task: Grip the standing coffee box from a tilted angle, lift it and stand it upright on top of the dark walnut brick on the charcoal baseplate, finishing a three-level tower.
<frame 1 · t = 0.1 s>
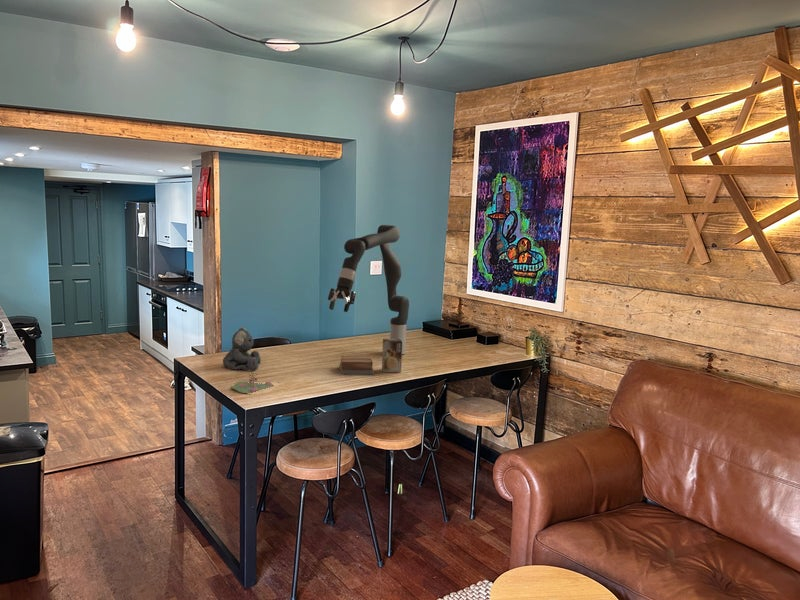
hand: (338, 310, 290), 31 cm above the table, tool tilted 20°, fingers open, 8 cm apart
plant: (260, 388, 267), on the table
baseplate: (356, 370, 301), on the table
coffee box: (391, 371, 305), on the table
walnut brick: (356, 366, 301), resting on baseplate
koala plush: (241, 367, 298), on the table
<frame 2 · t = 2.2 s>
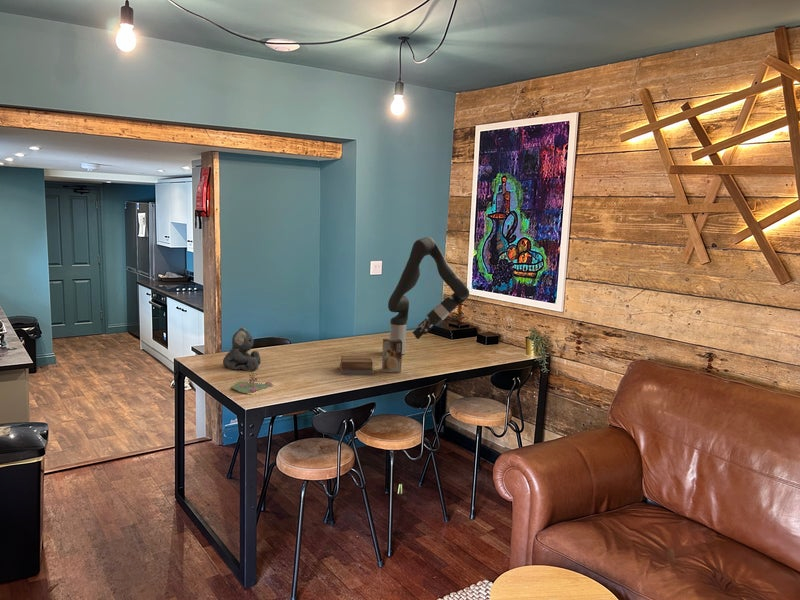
hand: (414, 336, 304), 18 cm above the table, tool tilted 45°, fingers open, 8 cm apart
nothing on the table moved.
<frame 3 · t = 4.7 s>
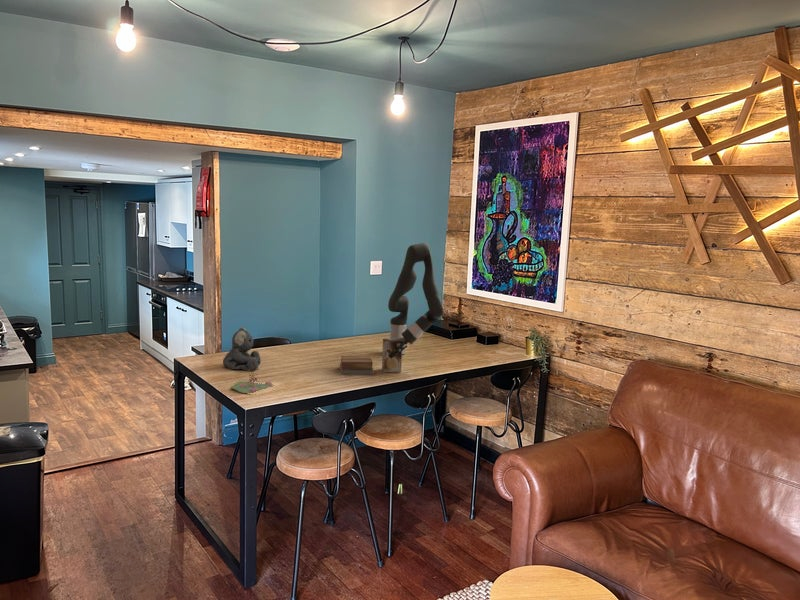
hand: (388, 355, 304), 8 cm above the table, tool tilted 45°, fingers closed on coffee box, 6 cm apart
coffee box: (391, 370, 305), on the table, touching gripper
everything else where it was.
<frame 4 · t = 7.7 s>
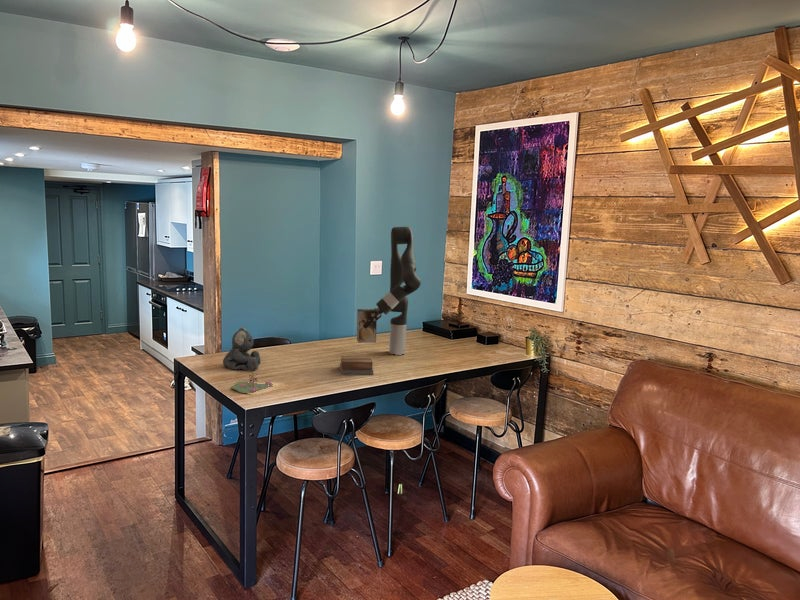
hand: (363, 325, 298), 23 cm above the table, tool tilted 45°, fingers closed on coffee box, 6 cm apart
coffee box: (366, 341, 300), point 15 cm above the table, touching gripper
everything else where it was.
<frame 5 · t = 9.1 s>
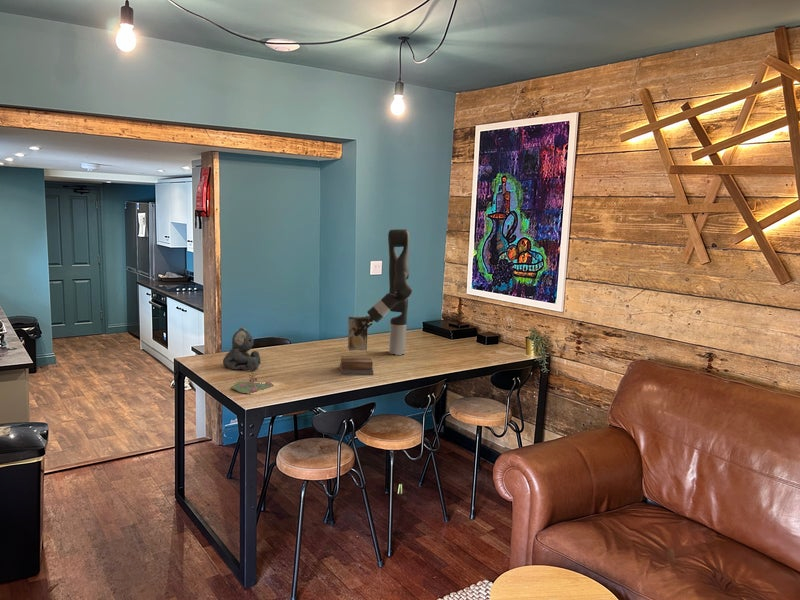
hand: (354, 333, 298), 19 cm above the table, tool tilted 45°, fingers closed on coffee box, 6 cm apart
coffee box: (357, 349, 300), point 11 cm above the table, touching gripper
everything else where it was.
when the fingers open (15 cm above the table, at t = 10.5 s): coffee box drops 1 cm, resting on walnut brick.
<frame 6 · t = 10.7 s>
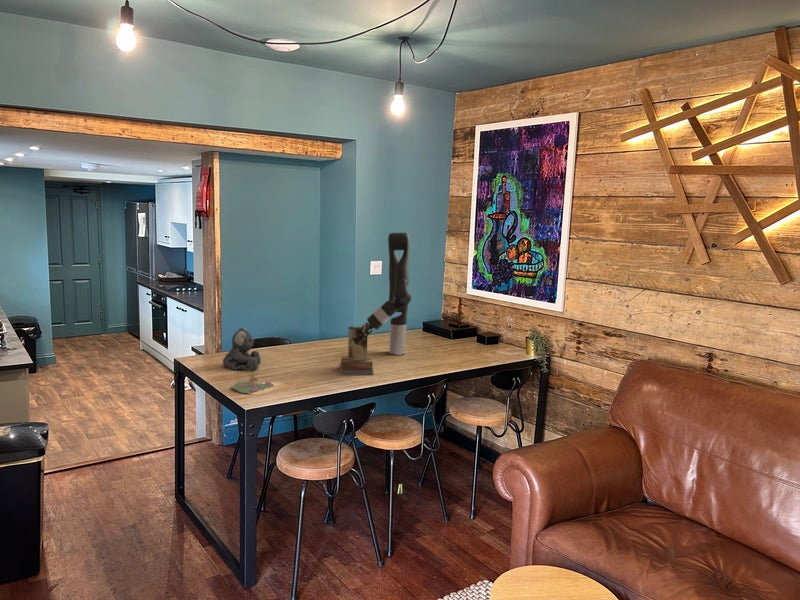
hand: (354, 340, 299), 16 cm above the table, tool tilted 45°, fingers open, 8 cm apart
coffee box: (357, 359, 301), point 6 cm above the table, touching walnut brick
everything else where it was.
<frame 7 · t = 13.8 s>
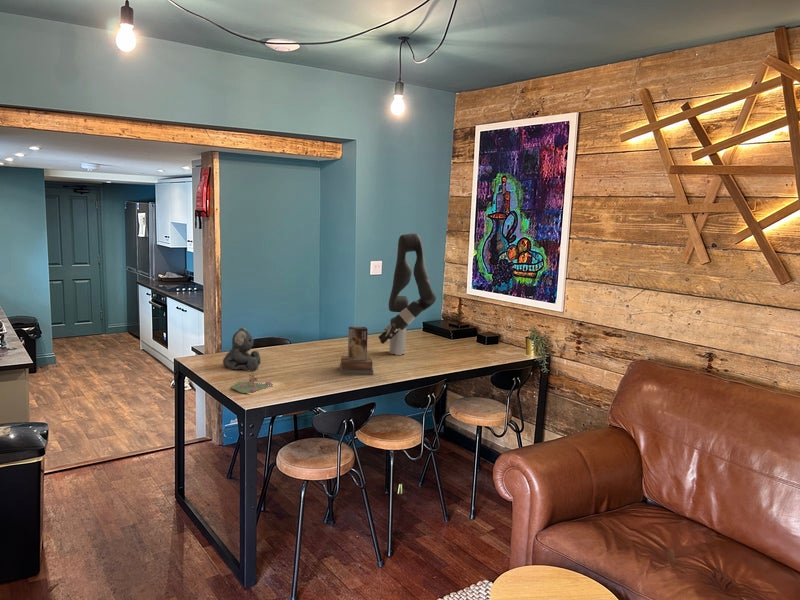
hand: (380, 340, 301), 16 cm above the table, tool tilted 45°, fingers open, 8 cm apart
nothing on the table moved.
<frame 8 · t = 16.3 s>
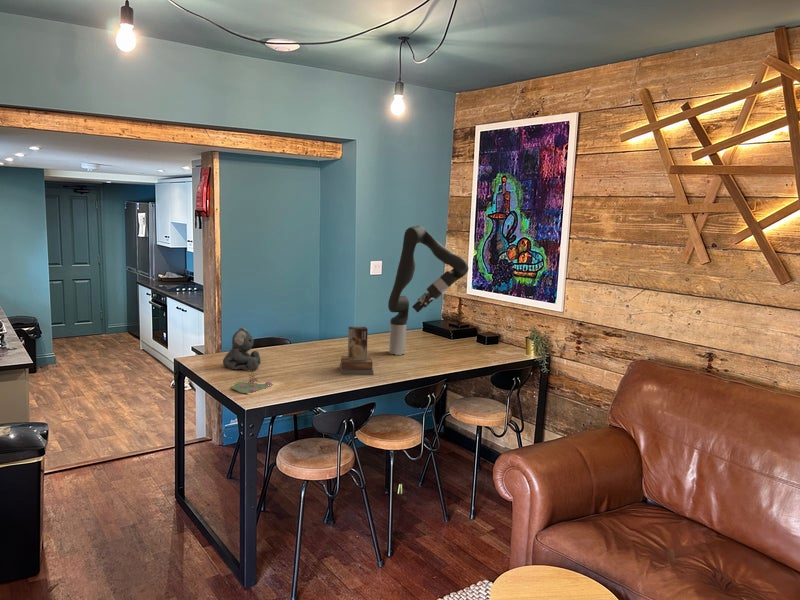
hand: (414, 309, 309), 31 cm above the table, tool tilted 45°, fingers open, 8 cm apart
nothing on the table moved.
at the end: coffee box inside the target area on the walnut brick (0.3 cm from its centre), point 3.8 cm above the walnut brick's base; coffee box tilted 0°; the gripper is holding nothing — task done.
